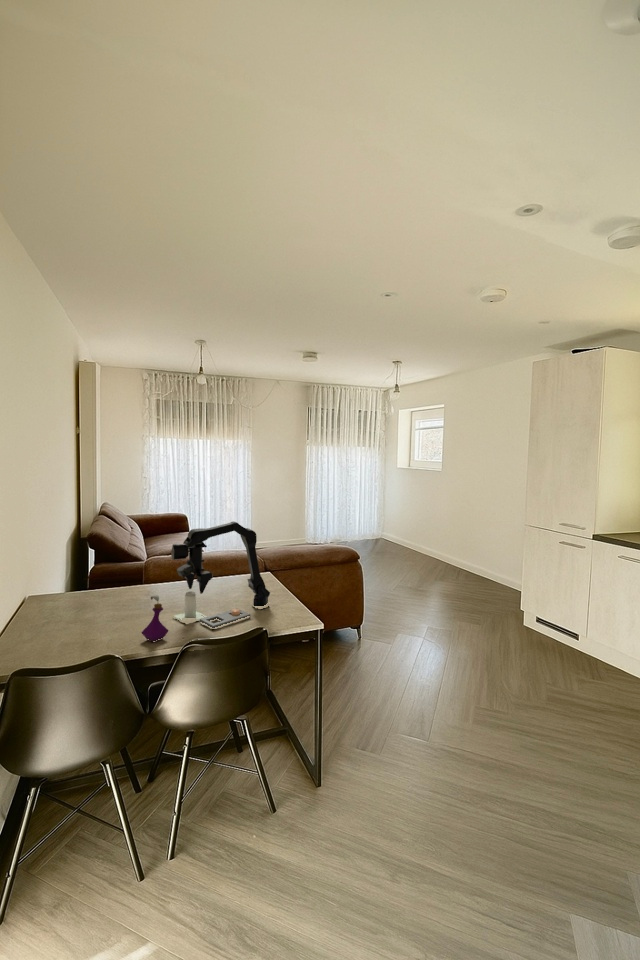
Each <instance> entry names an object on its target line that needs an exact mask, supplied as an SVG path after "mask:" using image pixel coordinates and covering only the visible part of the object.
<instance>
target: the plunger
mask: <svg viewBox="0 0 640 960" xmlns="http://www.w3.org/2000/svg"><path fill="white" fill-rule="evenodd" d="M233 609H234V610H233ZM233 609H230V610H231V615H233V616H237V615H240V610H241V609H240V610H239V608H233Z"/></svg>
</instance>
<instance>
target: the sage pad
mask: <svg viewBox="0 0 640 960" xmlns="http://www.w3.org/2000/svg"><path fill="white" fill-rule="evenodd" d="M201 615H203V616H204V617H208V616H207V615H206V614H203V613H201V612H199V611H197V610H196V617H194V618H196V619H201V618H204V617H203V616H201ZM173 617H175V618H177V619H179V618H180V619H181V620H182V618H185V612H183V613H179V614H175V615H172V618H173ZM196 619H195V620H196Z"/></svg>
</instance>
